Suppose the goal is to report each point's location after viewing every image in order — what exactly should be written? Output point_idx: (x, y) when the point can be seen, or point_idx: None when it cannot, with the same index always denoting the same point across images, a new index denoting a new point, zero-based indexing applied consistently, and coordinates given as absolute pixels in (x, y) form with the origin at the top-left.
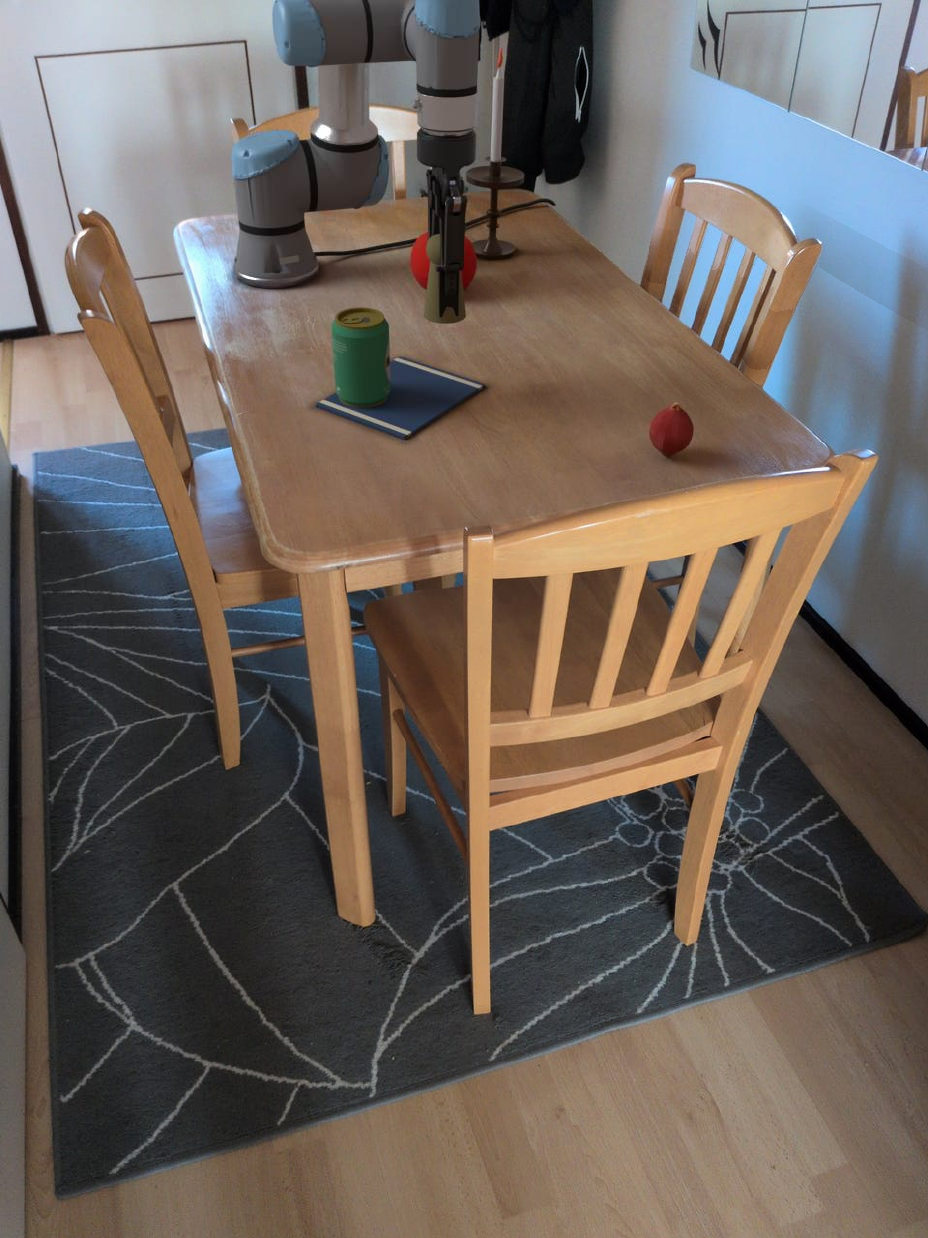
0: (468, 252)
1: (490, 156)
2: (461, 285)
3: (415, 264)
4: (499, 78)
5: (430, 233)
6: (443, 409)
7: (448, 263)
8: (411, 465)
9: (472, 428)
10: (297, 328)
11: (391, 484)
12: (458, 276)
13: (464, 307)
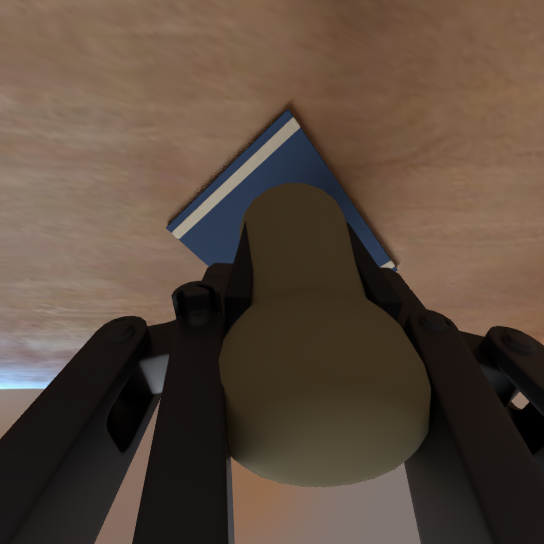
0: None
1: None
2: (340, 239)
3: None
4: None
5: (143, 434)
6: (350, 207)
7: (517, 413)
8: (453, 271)
9: (411, 175)
10: (77, 324)
11: (475, 296)
12: (389, 285)
13: (324, 200)
